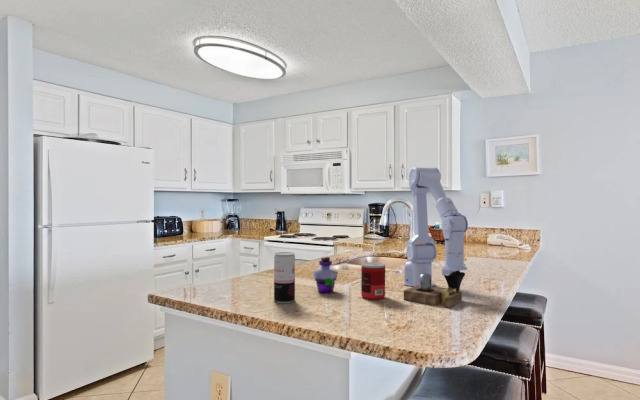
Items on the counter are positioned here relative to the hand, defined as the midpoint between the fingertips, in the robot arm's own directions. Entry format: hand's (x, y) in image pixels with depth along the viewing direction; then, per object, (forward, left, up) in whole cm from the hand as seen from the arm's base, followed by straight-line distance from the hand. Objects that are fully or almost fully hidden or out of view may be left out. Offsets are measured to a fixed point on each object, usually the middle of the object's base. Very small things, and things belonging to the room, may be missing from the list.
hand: (454, 294), depth 127 cm
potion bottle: (-38, -19, -2) cm, 43 cm away
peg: (-7, -6, -2) cm, 9 cm away
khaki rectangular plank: (0, -4, -2) cm, 5 cm away
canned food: (-21, -15, -2) cm, 26 cm away
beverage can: (-40, -37, -2) cm, 55 cm away
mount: (-5, -6, -2) cm, 8 cm away
